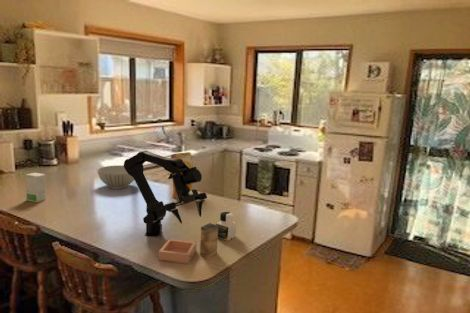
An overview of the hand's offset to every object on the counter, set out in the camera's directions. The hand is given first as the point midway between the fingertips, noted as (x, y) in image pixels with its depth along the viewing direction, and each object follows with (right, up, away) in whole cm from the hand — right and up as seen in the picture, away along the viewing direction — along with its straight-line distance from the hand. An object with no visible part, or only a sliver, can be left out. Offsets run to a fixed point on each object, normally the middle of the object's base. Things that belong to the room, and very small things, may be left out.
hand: (191, 220), depth 161 cm
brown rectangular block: (+8, -13, -6) cm, 17 cm away
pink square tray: (-4, -13, -9) cm, 17 cm away
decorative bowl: (-61, +7, +87) cm, 106 cm away
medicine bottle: (+15, -11, +13) cm, 22 cm away
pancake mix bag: (-16, +3, +75) cm, 77 cm away
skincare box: (-96, +3, +50) cm, 108 cm away
